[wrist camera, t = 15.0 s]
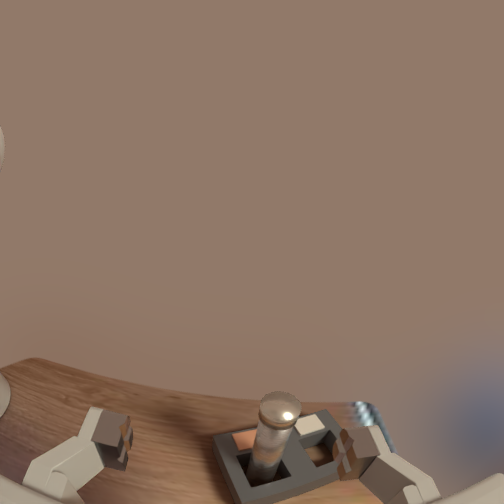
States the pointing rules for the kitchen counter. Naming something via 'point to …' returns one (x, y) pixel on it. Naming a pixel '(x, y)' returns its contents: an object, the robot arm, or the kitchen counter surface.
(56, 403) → the kitchen counter surface
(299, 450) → the socket board
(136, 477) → the kitchen counter surface
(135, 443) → the kitchen counter surface
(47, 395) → the kitchen counter surface
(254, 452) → the metal plug
